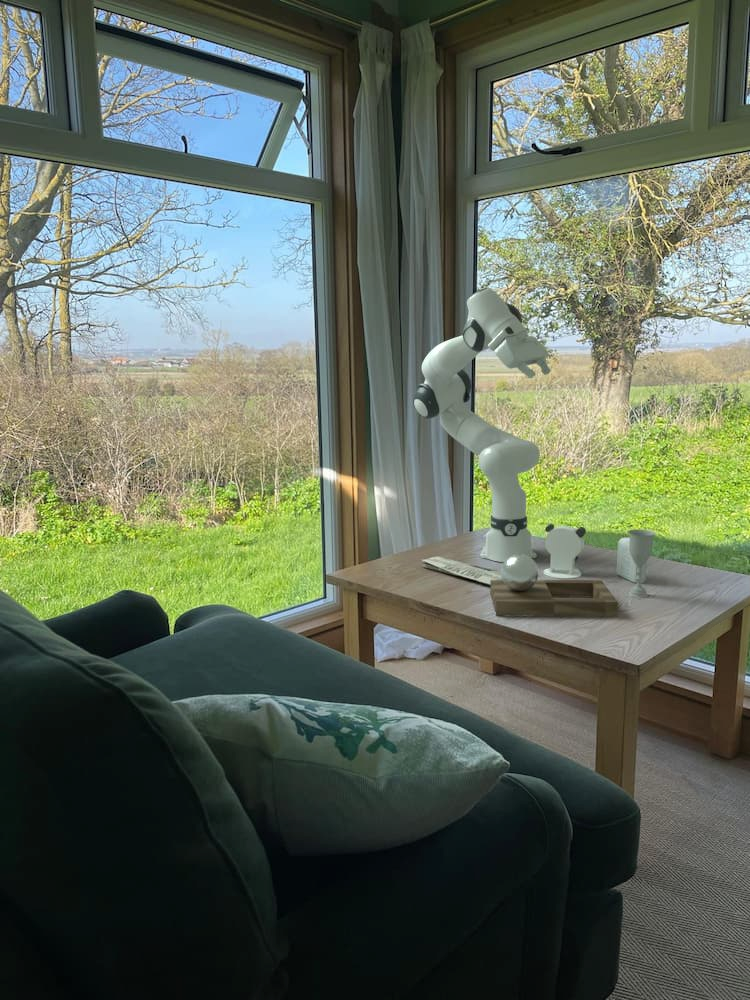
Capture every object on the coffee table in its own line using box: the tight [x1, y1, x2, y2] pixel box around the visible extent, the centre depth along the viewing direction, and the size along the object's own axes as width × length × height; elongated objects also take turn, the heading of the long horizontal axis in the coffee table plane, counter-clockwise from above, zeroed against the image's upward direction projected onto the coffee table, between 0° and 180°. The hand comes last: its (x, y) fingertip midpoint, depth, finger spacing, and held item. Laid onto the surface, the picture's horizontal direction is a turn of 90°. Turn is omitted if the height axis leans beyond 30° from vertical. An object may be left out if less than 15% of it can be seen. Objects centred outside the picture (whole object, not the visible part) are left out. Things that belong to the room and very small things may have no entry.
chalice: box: [627, 529, 656, 599], centre depth 199 cm, size 7×7×18 cm
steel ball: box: [500, 554, 539, 591], centre depth 193 cm, size 10×10×10 cm
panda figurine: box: [543, 523, 587, 580], centre depth 220 cm, size 12×11×15 cm
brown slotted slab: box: [489, 579, 619, 617], centre depth 194 cm, size 18×31×4 cm, turn 86°
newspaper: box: [421, 556, 502, 586], centre depth 221 cm, size 35×12×4 cm, turn 43°
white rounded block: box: [616, 537, 648, 584], centre depth 214 cm, size 10×4×12 cm, turn 17°
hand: (540, 375), depth 195 cm, fingers open, 8 cm apart
